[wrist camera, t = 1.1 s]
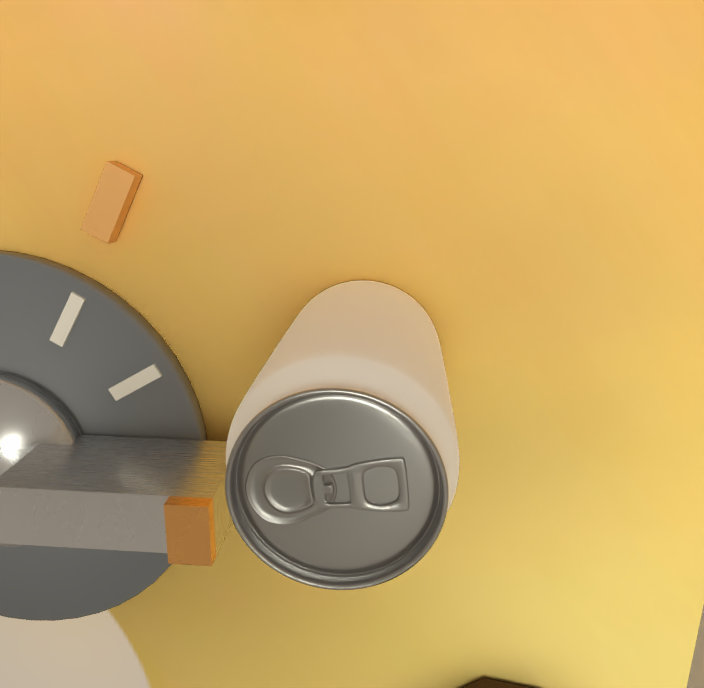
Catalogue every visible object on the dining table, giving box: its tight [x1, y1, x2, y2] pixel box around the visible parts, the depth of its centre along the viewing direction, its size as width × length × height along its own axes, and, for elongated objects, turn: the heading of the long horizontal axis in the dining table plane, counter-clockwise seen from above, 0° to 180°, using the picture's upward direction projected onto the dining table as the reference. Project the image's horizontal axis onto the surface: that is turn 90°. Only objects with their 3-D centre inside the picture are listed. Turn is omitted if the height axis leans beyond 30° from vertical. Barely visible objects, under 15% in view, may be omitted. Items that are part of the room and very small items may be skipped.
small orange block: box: [81, 161, 143, 244], centre depth 26 cm, size 3×1×1 cm, turn 152°
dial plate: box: [0, 251, 207, 620], centre depth 30 cm, size 18×18×1 cm
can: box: [225, 280, 460, 590], centre depth 22 cm, size 6×6×12 cm
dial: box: [0, 372, 232, 566], centre depth 26 cm, size 15×8×5 cm, turn 89°
